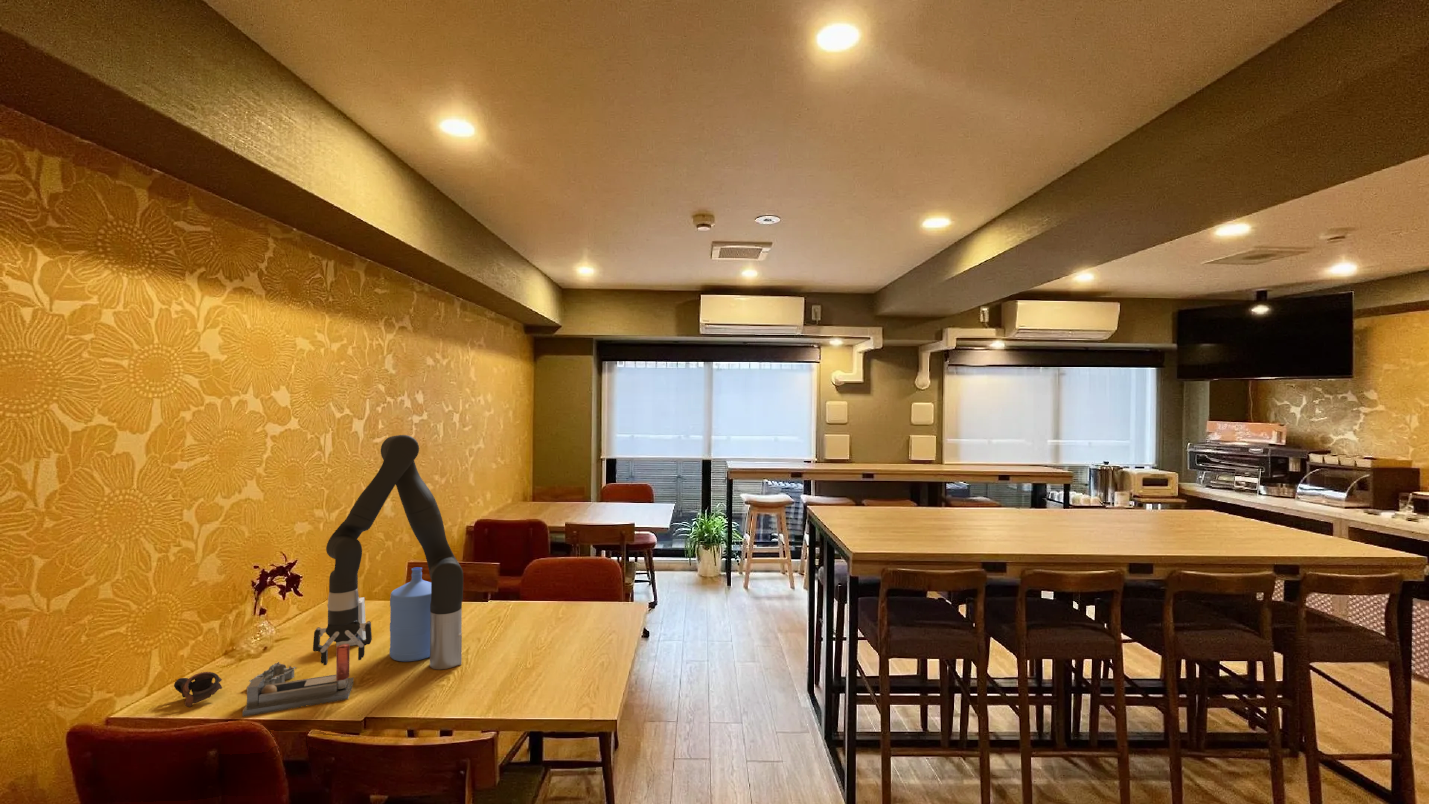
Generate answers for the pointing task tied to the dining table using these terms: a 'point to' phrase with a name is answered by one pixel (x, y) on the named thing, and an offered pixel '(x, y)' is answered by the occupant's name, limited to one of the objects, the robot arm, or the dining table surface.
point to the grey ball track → (291, 695)
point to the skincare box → (361, 620)
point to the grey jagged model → (277, 670)
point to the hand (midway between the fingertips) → (342, 661)
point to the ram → (341, 670)
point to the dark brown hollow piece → (198, 687)
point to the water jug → (410, 619)
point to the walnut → (269, 689)
